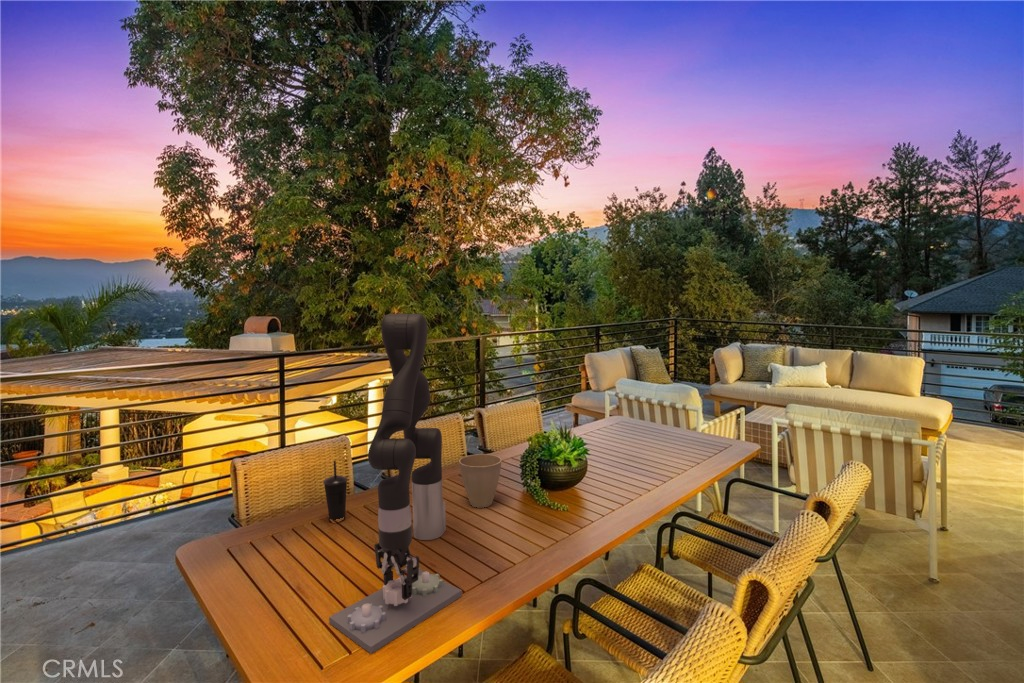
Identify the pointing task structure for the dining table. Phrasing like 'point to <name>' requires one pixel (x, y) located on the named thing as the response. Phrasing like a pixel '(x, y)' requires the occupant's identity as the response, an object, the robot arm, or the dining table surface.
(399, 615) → the gear board
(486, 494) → the plant pot
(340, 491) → the drinking cup
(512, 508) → the dining table surface
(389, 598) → the gear
